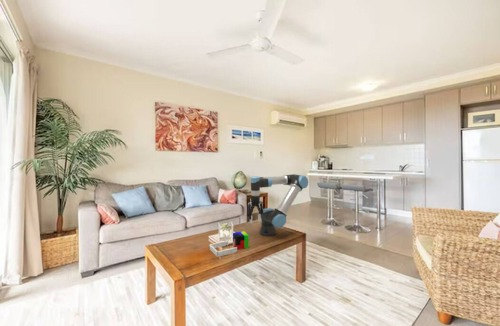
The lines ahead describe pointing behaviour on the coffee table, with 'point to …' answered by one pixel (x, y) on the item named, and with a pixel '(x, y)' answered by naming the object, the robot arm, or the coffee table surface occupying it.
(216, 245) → the tray
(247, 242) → the puzzle toy
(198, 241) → the coffee table surface
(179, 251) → the coffee table surface
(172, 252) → the coffee table surface
